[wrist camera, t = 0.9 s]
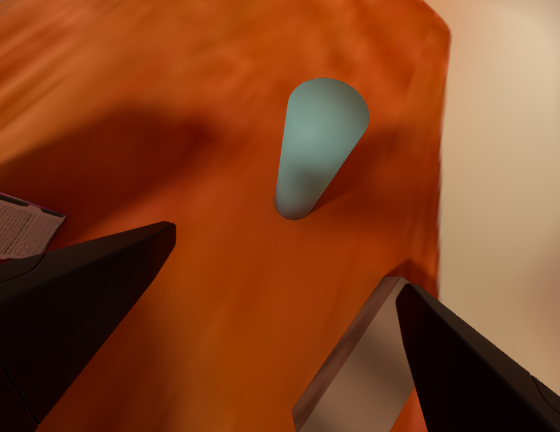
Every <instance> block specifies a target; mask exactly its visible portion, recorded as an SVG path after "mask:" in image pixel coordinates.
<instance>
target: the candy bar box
mask: <svg viewBox="0 0 560 432" xmlns="http://www.w3.org/2000/svg"><path fill="white" fill-rule="evenodd" d="M65 218H66V215H64V214H61V213H59V212H56V211H53V210H50V209H48V208H45V207H42V206H39V205H36V204H33V203H31V202H28V201H25V200H22V199H19V198H16V197H13V196H10V195H8V194H5V193H2V192H0V260H17V259H21V258H25V257H29V256H33V255H37V254H40V253H44V252H45V250H46V248H47V246H48V245H49V243H50V241H51V239H52V238H53V236H54V235H55V233H56V232H57V230H58V229H59V227H60V226H61V224H62V223H63V221H64V220H65Z"/></svg>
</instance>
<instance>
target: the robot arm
mask: <svg viewBox="0 0 560 432" xmlns="http://www.w3.org/2000/svg"><path fill="white" fill-rule="evenodd" d="M175 244H176V225H175V224H174V223H170V222H166V221H162V222H158V223H155V224H151V225H147V226H143V227H139V228H136V229H132V230H128V231H124V232H120V233H117V234H113V235H109V236H105V237H101V238H98V239H94V240H90V241H86V242H82V243H79V244H75V245H71V246H67V247H63V248H60V249H56V250H52V251H48V252H47V253H40V254H37V255H33V256H29V257H25V258H21V259H17V260H13V261H9V262H5V263H1V264H0V432H34V431H35V430H36V429H37V427H38V424H40V423H41V422H42V421H43V419H44V418H45V417H46V416H47V414H48V413H49V412H50V411H51V409H52V408H53V407H54V405H55V404H56V403H57V402H58V400H59V399H60V398H61V397H62V395H63V394H64V393H65V392H66V390H67V389H68V388H69V387H70V385H71V384H72V383H73V381H74V380H75V379H76V378H77V376H78V375H79V374H80V373H81V371H82V370H83V369H84V368H85V366H86V365H87V364H88V363H89V361H90V360H91V359H92V357H93V356H94V355H95V354H96V352H97V351H98V350H99V349H100V347H101V346H102V345H103V344H104V342H105V341H106V340H107V339H108V337H109V336H110V335H111V333H112V332H113V331H114V330H115V328H116V327H117V326H118V325H119V323H120V322H121V321H122V320H123V318H124V317H125V316H126V315H127V313H128V312H129V311H130V309H131V308H132V307H133V306H134V304H135V303H136V302H137V301H138V299H139V298H140V297H141V296H142V294H143V293H144V292H145V290H146V289H147V288H148V287H149V285H150V284H151V283H152V281H153V280H154V279H155V277H156V276H157V274H158V272H159V271H160V269H161V268H162V266H163V264H164V263H165V261H166V260H167V258H168V256H169V255H170V253H171V252H172V250H173V248H174V247H175ZM395 304H396V310H397V315H398V321H399V326H400V332H401V337H402V342H403V346H404V350H405V353H406V357H407V360H408V364H409V367H410V371H411V374H412V378H413V381H414V385H415V388H416V392H417V395H418V399H419V402H420V406H421V409H422V413H423V416H424V420H425V423H426V427H427V430H428V432H560V396H558V395H557V394H556V393H554V392H553V391H552V390H551V389H549V388H548V387H547V386H546V385H544V384H543V383H542V382H540V381H539V380H537V378H535V377H534V376H532V375H530V373H529V372H528V371H527V370H525V369H524V368H523V367H521V366H520V365H519V364H518V363H516V362H515V361H514V360H513V359H511V358H510V357H509V356H508V355H506V354H505V353H504V352H502V351H501V350H500V349H499V348H497V347H496V346H495V345H494V344H492V343H491V342H490V341H489V340H487V339H486V338H485V337H484V336H482V335H481V334H480V333H479V332H477V331H476V330H475V329H473V328H472V327H471V326H470V325H468V324H467V323H466V322H465V321H463V320H462V319H461V318H460V317H458V316H456V314H454V313H453V312H452V311H451V310H449V309H448V308H447V307H446V306H444V305H443V304H442V303H441V302H439V301H438V300H437V299H436V298H434V297H433V296H432V295H431V294H429V293H428V292H427V291H425V290H424V289H423V288H422V287H420V286H419V285H416V284H412V283H406V284H405V285H404V287H403V288H402V290H401V291H400V293H399V294H398V296H397V297H396V301H395Z"/></svg>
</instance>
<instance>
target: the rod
mask: <svg viewBox="0 0 560 432" xmlns="http://www.w3.org/2000/svg"><path fill="white" fill-rule="evenodd" d="M368 122H369V111H368V107H367V105H366V102H365V101H364V99H363V97H362V96H361V95H360V94H359V93H358V92H357V91H356V90H355V89H354V88H353V87H351V86H349V85H348V84H346V83H344V82H341V81H339V80H335V79H330V78H317V79H312V80H309V81H306V82H304V83H302V84H301V85H299V86H298V87H297V88H296V89H295V90H294V91H293V93H292V94H291V96H290V98H289V101H288V107H287V114H286V121H285V129H284V136H283V143H282V150H281V157H280V165H279V172H278V179H277V186H276V193H275V207H276V209H277V211H278V212H279V214H280V215H282V216H283V217H284V218H287V219H290V220H299V219H302V218H304V217H306V216H307V215H308V214H309V213H310V211H311V210H312V208H313V207H314V205H315V204H316V202H317V201H318V199H319V198H320V197H321V195H322V194H323V192H324V191H325V189H326V188H327V186H328V185H329V183H330V182H331V180H332V179H333V177H334V176H335V175H336V173H337V172H338V170H339V169H340V167H341V166H342V164H343V163H344V161H345V160H346V158H347V157H348V156H349V154H350V153H351V151H352V150H353V148H354V147H355V145H356V144H357V142H358V141H359V139H360V138H361V136H362V135H363V134H364V132H365V130H366V128H367V126H368Z"/></svg>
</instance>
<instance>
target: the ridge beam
mask: <svg viewBox="0 0 560 432" xmlns="http://www.w3.org/2000/svg"><path fill="white" fill-rule="evenodd" d="M406 283H410V282H408V281H407V280H406V279H405V278H404V277H402V276H387V277H383V278H382V280H381V281H380V282H379V284H378V285H377V287H376V288H375V290H374V291H373V293H372V294H371V296H370V297H369V298H368V300H367V301H366V303H365V304H364V306H363V307H362V309H361V310H360V312H359V313H358V315H357V316H356V317H355V319H354V320H353V322H352V323H351V325H350V326H349V328H348V329H347V331H346V332H345V334H344V335H343V336H342V338H341V339H340V341H339V342H338V344H337V345H336V347H335V348H334V350H333V351H332V352H331V354H330V355H329V357H328V358H327V360H326V361H325V363H324V364H323V366H322V367H321V369H320V370H319V371H318V373H317V374H316V376H315V377H314V379H313V380H312V382H311V383H310V385H309V386H308V387H307V389H306V390H305V392H304V393H303V395H302V396H301V398H300V399H299V401H298V402H297V404H296V405H295V406H294V408H293V409H292V415H293V420H294V425H295V429H296V432H389V431H390V429H391V428H392V426H393V424H394V422H395V420H396V419H397V417H398V415H399V413H400V411H401V410H402V408H403V406H404V404H405V402H406V401H407V399H408V397H409V395H410V393H411V391H412V390H413V388H414V386H415V385H414V381H413V378H412V374H411V371H410V367H409V364H408V360H407V357H406V353H405V350H404V346H403V342H402V337H401V332H400V326H399V321H398V315H397V310H396V304H395V301H396V297H397V296H398V294H399V293H400V291H401V290H402V288H403V287H404V285H405V284H406Z"/></svg>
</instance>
